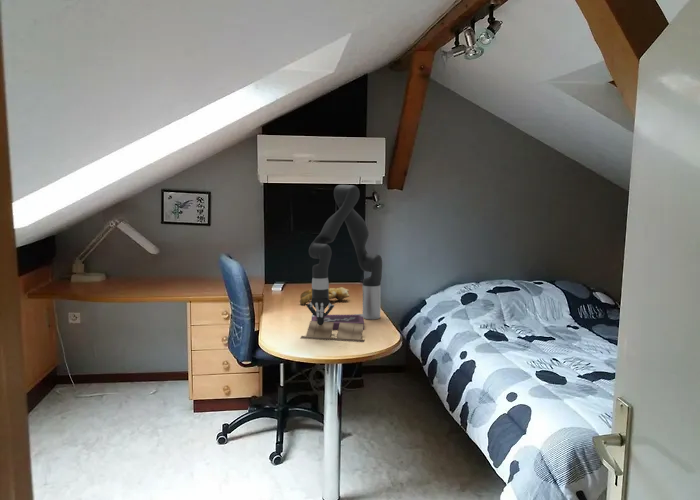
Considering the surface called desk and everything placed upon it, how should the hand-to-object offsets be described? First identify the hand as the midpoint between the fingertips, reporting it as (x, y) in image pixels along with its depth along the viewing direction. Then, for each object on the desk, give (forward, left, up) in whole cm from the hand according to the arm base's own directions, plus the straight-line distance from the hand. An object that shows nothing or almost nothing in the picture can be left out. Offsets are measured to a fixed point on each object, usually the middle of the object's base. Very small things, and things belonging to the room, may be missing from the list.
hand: (320, 324), depth 248 cm
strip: (+7, +7, -6) cm, 11 cm away
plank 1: (+1, 0, -3) cm, 3 cm away
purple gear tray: (-17, +4, -6) cm, 18 cm away
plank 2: (+1, +14, -3) cm, 14 cm away
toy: (-69, -16, -6) cm, 71 cm away
